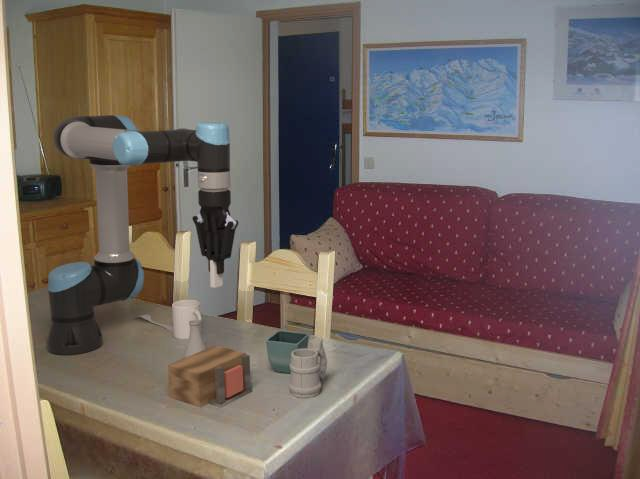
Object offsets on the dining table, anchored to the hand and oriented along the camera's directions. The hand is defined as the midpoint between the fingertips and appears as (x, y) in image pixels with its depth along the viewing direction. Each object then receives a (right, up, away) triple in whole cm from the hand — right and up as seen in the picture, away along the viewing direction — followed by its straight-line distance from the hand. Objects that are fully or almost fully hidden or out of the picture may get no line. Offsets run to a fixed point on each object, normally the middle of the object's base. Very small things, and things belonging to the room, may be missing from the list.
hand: (216, 286), depth 168 cm
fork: (-27, -16, +51) cm, 60 cm away
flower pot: (+17, -23, +12) cm, 31 cm away
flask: (-9, -21, +22) cm, 32 cm away
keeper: (+5, -25, -6) cm, 26 cm away
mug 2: (+23, -25, -1) cm, 34 cm away
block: (0, -25, -2) cm, 25 cm away
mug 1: (-13, -18, +38) cm, 44 cm away
